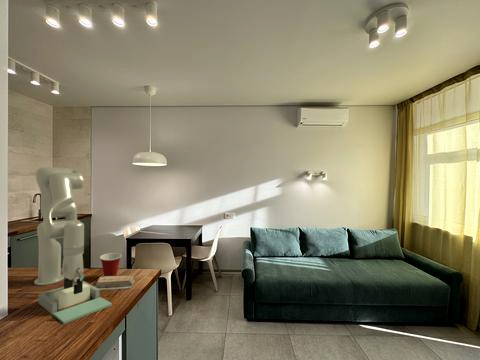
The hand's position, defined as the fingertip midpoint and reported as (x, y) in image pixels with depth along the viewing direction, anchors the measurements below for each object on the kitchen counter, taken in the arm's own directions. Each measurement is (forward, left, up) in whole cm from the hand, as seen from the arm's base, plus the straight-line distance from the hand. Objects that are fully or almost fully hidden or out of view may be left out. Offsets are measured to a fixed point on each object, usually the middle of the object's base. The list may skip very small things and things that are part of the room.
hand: (73, 290), depth 110 cm
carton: (-1, 0, -6) cm, 6 cm away
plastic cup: (-17, +25, -6) cm, 31 cm away
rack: (-3, 0, -5) cm, 6 cm away
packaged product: (-4, +20, -6) cm, 21 cm away
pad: (+10, 0, -5) cm, 12 cm away
